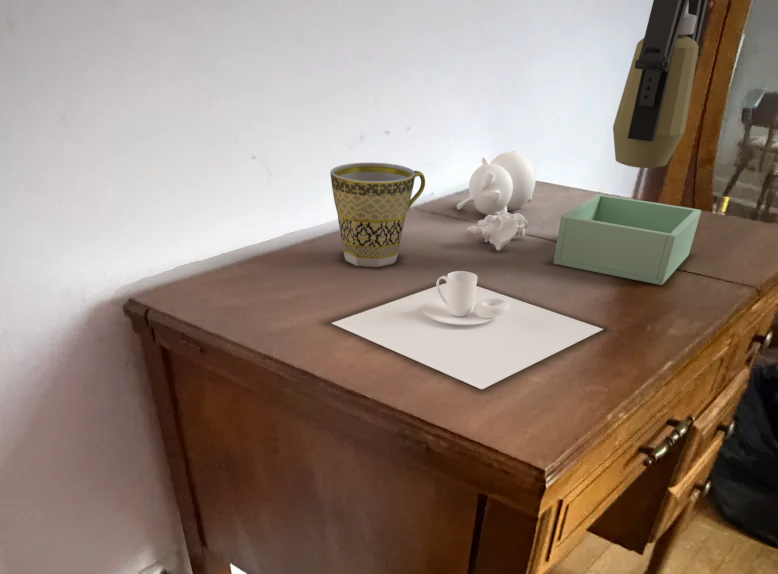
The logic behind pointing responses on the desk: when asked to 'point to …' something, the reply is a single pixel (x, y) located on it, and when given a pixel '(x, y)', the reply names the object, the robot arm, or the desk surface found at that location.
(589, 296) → the desk surface
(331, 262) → the desk surface
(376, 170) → the ceramic cup
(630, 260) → the bin
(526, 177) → the cat figurine
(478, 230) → the anatomical pelvis
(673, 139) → the squeeze bottle
